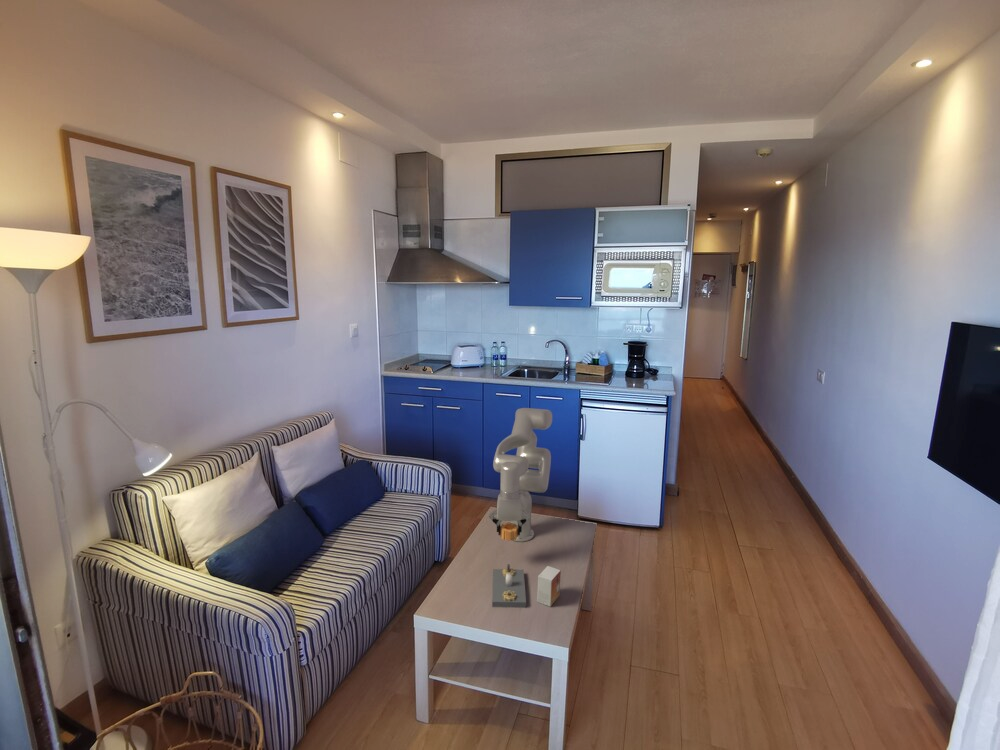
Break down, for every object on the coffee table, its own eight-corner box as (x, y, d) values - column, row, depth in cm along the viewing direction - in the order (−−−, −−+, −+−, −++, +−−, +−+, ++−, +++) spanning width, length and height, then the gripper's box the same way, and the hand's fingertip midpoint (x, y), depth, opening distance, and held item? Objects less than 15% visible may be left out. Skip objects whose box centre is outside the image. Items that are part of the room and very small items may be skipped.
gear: (500, 531, 201) (500, 522, 200) (517, 531, 201) (517, 522, 200) (499, 540, 194) (500, 531, 193) (518, 541, 194) (518, 532, 193)
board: (493, 573, 194) (493, 559, 193) (523, 574, 194) (523, 560, 193) (492, 606, 175) (492, 591, 173) (525, 607, 175) (526, 592, 173)
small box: (550, 607, 175) (551, 581, 173) (536, 602, 178) (537, 575, 176) (560, 595, 182) (561, 570, 179) (546, 590, 184) (547, 565, 182)
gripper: (531, 489, 197) (530, 528, 201) (488, 488, 197) (487, 528, 201) (532, 497, 190) (531, 538, 194) (487, 497, 190) (487, 538, 194)
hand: (509, 533), depth 198 cm, fingers closed on gear, 7 cm apart
